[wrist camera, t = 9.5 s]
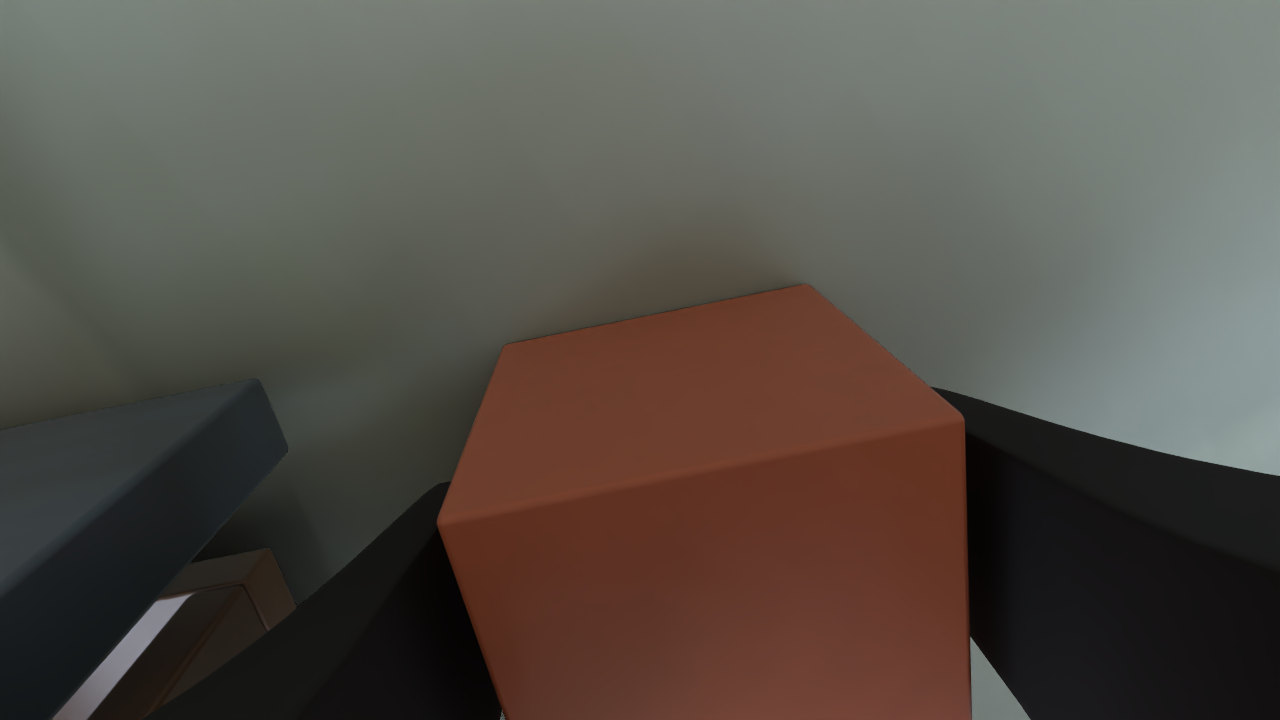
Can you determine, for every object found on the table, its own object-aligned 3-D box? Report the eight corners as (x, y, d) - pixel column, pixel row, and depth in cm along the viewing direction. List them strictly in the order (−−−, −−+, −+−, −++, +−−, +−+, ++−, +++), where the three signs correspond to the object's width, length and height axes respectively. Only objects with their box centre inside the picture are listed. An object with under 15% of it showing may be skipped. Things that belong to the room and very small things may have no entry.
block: (501, 343, 11) (432, 522, 6) (809, 281, 10) (967, 413, 6) (571, 593, 12) (557, 875, 8) (836, 540, 12) (977, 794, 8)
